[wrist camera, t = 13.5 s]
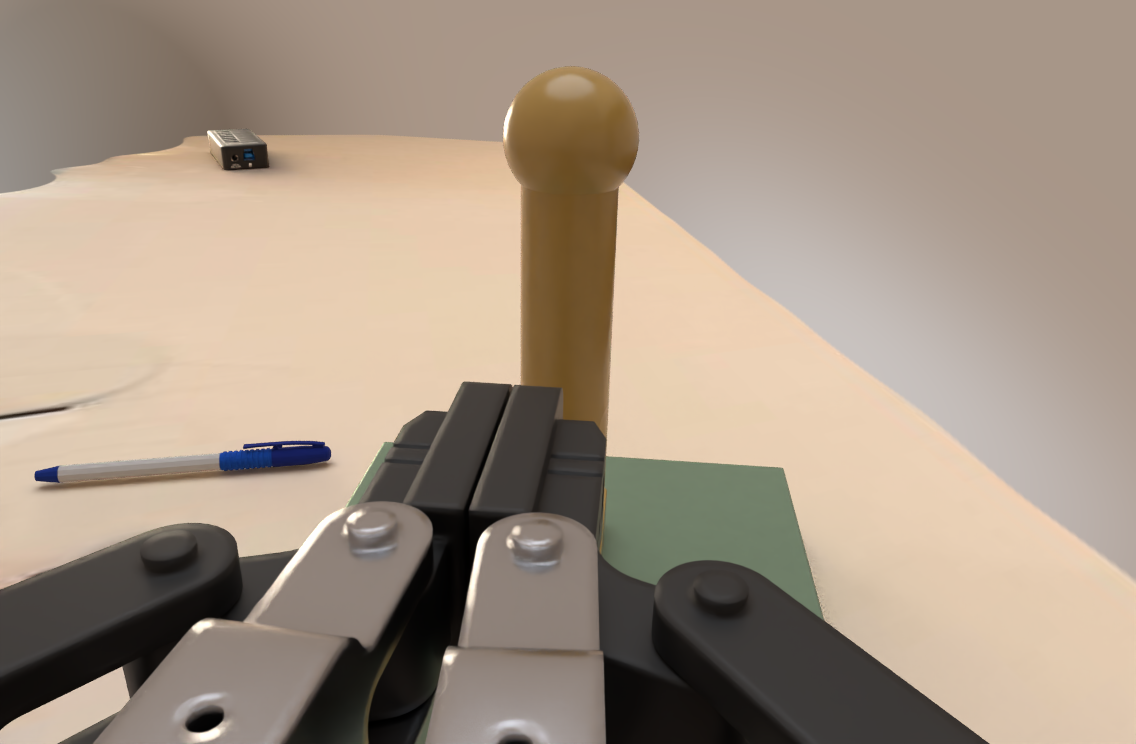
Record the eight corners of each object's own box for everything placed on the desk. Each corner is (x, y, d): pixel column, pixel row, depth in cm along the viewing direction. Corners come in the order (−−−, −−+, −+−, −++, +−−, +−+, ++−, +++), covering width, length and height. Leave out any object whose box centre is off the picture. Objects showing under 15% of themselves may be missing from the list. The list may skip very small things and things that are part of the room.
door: (775, 528, 31) (792, 403, 29) (1007, 1566, 11) (1121, 1387, 9) (387, 501, 32) (379, 379, 30) (-81, 1397, 12) (-206, 1204, 10)
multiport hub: (252, 149, 97) (249, 128, 96) (269, 167, 88) (267, 143, 87) (210, 152, 95) (207, 130, 94) (223, 170, 86) (220, 146, 85)
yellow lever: (618, 522, 26) (644, 59, 21) (596, 851, 16) (634, 123, 11) (520, 515, 26) (520, 55, 21) (438, 835, 16) (400, 114, 11)
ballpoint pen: (332, 454, 35) (329, 432, 34) (331, 465, 34) (329, 442, 34) (41, 480, 32) (35, 457, 32) (33, 493, 32) (27, 469, 31)
